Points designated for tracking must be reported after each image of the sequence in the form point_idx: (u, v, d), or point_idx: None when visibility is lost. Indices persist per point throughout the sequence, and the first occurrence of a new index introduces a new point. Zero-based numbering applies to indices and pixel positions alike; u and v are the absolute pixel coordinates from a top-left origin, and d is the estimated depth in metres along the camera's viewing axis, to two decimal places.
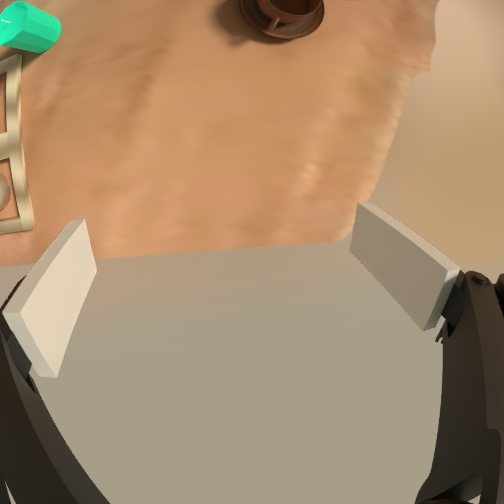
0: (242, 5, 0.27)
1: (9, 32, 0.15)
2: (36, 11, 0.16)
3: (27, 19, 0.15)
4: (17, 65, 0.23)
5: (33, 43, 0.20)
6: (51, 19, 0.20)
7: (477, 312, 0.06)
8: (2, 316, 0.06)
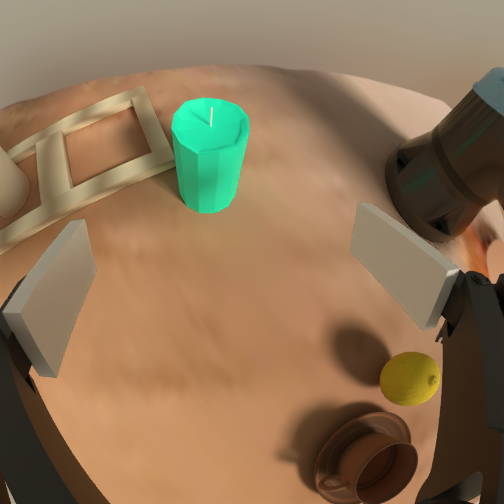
0: (339, 432, 0.23)
1: (193, 132, 0.20)
2: (235, 162, 0.22)
3: (216, 155, 0.20)
4: (157, 166, 0.28)
5: (186, 182, 0.24)
6: (229, 191, 0.26)
7: (477, 312, 0.06)
8: (2, 316, 0.06)
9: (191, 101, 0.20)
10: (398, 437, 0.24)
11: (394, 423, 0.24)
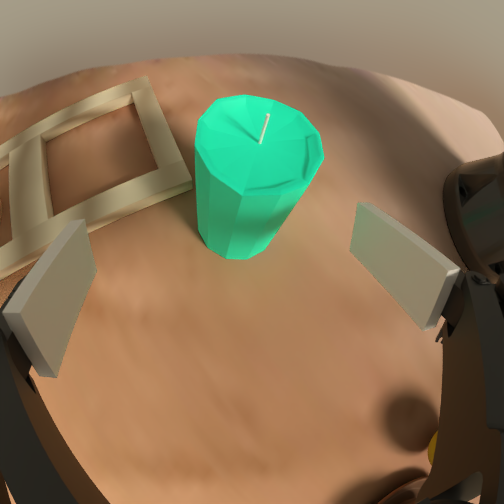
0: (381, 502, 0.16)
1: (232, 154, 0.12)
2: (295, 203, 0.14)
3: (275, 198, 0.12)
4: (166, 190, 0.21)
5: (212, 225, 0.17)
6: (273, 235, 0.19)
7: (477, 312, 0.06)
8: (2, 316, 0.06)
9: (227, 100, 0.12)
10: None
11: None
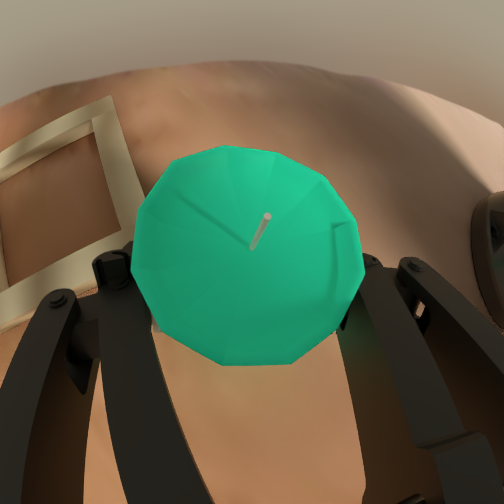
0: None
1: (201, 277, 0.07)
2: None
3: (279, 363, 0.07)
4: None
5: None
6: None
7: (368, 303, 0.07)
8: None
9: (191, 161, 0.07)
10: None
11: None
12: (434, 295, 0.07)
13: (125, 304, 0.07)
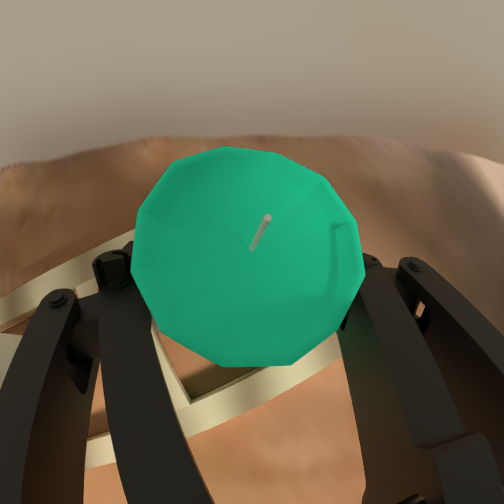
0: None
1: (201, 278, 0.07)
2: None
3: (279, 364, 0.07)
4: (336, 359, 0.18)
5: None
6: None
7: (368, 303, 0.07)
8: None
9: (191, 162, 0.07)
10: None
11: None
12: (434, 295, 0.07)
13: (125, 304, 0.07)
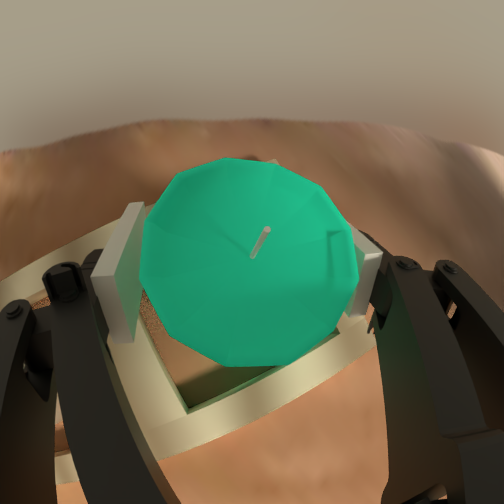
0: None
1: (205, 284, 0.07)
2: None
3: (278, 364, 0.07)
4: (351, 361, 0.16)
5: None
6: None
7: (408, 303, 0.07)
8: None
9: (194, 174, 0.08)
10: None
11: None
12: (465, 295, 0.07)
13: (75, 316, 0.06)
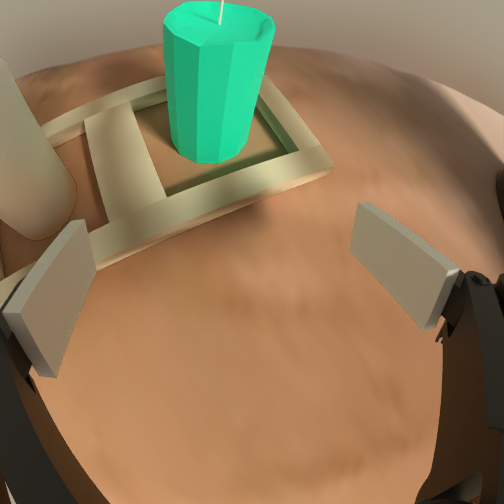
0: None
1: (194, 29, 0.11)
2: (254, 73, 0.13)
3: (229, 48, 0.11)
4: (312, 173, 0.20)
5: (179, 109, 0.15)
6: (241, 126, 0.18)
7: (477, 312, 0.06)
8: (2, 316, 0.06)
9: (193, 2, 0.11)
10: None
11: None
12: None
13: None
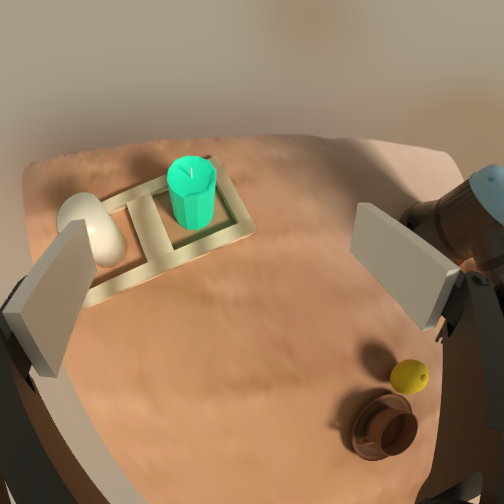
0: (367, 407, 0.37)
1: (180, 182, 0.33)
2: (208, 200, 0.35)
3: (195, 198, 0.32)
4: (244, 235, 0.41)
5: (177, 211, 0.37)
6: (207, 215, 0.39)
7: (477, 312, 0.06)
8: (2, 316, 0.06)
9: (179, 159, 0.33)
10: None
11: (401, 402, 0.38)
12: None
13: None
